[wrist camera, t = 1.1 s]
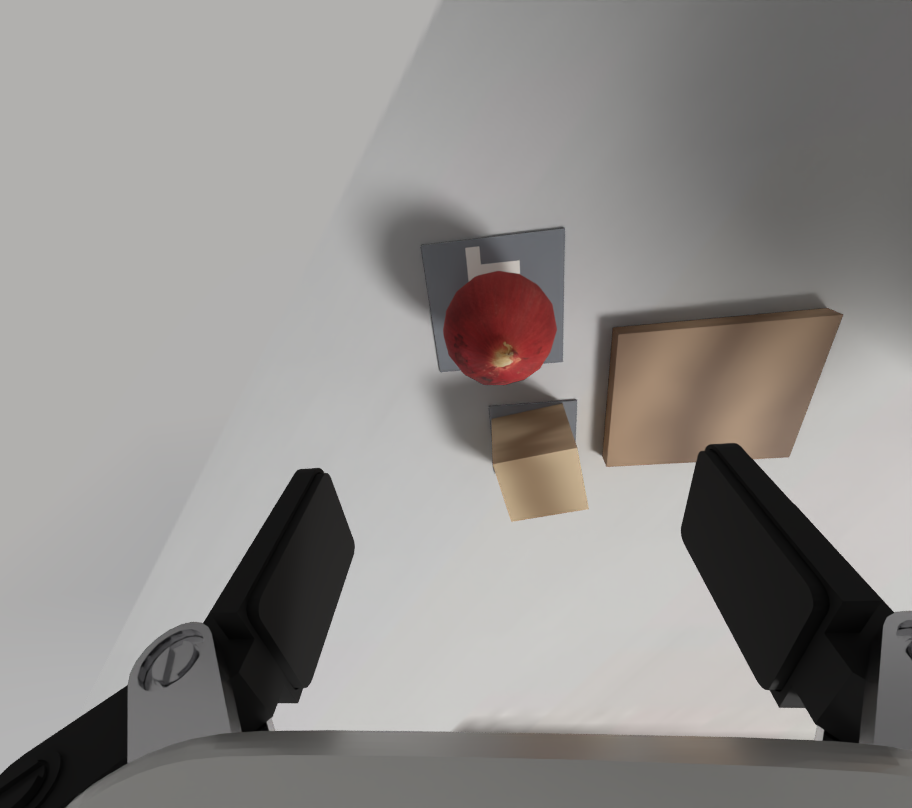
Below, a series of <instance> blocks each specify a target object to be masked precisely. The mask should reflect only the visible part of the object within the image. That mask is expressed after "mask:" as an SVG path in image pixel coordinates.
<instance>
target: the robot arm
mask: <svg viewBox="0 0 912 808" xmlns="http://www.w3.org/2000/svg"><path fill="white" fill-rule="evenodd" d="M681 536H682V540H683V542H684V544H685V546H686V548H687V550H688V552H689V554H690V556H691V558H692V560H693V561H694V563H695V565H696V567H697V569H698V571H699V573H700V575H701V577H702V578H703V580H704V582H705V584H706V586H707V588H708V590H709V592H710V593H711V595H712V597H713V599H714V601H715V603H716V605H717V607H718V609H719V610H720V612H721V614H722V616H723V618H724V620H725V622H726V624H727V626H728V627H729V629H730V631H731V633H732V635H733V637H734V639H735V641H736V642H737V644H738V646H739V648H740V650H741V652H742V654H743V656H744V658H745V659H746V661H747V663H748V665H749V667H750V669H751V671H752V673H753V674H754V676H755V678H756V680H757V682H758V683H759V684H760V686H761V687H762V688H764V689H765V690H770V692H771V693H772V695H773V697H774V699H775V701H776V703H777V704H778V706H779V708H806V709H807V711H808V713H809V714H810V716H811V718H812V719H813V721H814V723H815V724H816V725H817V728H816V734H815V739H814V740H791V739H766V738H741V737H698V736H653V735H607V734H552V733H492V732H423V731H336V730H323V731H275V728H274V725H273V721H272V717H273V714H274V712H275V709H276V706H277V704H278V703H298V702H299V699H300V696H301V693H302V690H303V688H307V687H308V686H309V685H310V683H311V681H312V678H313V675H314V672H315V669H316V666H317V663H318V660H319V657H320V654H321V651H322V648H323V645H324V642H325V639H326V636H327V633H328V630H329V627H330V624H331V621H332V618H333V615H334V612H335V609H336V606H337V603H338V600H339V597H340V594H341V591H342V588H343V585H344V582H345V579H346V576H347V573H348V570H349V567H350V564H351V561H352V558H353V555H354V549H355V545H354V540H353V537H352V534H351V531H350V529H349V526H348V523H347V521H346V518H345V515H344V512H343V510H342V507H341V504H340V502H339V499H338V496H337V493H336V491H335V488H334V485H333V482H332V480H331V477H330V475H329V474H328V473H324V472H323V470H322V469H321V468H312V469H299V470H297V471H296V472H295V474H294V476H293V477H292V479H291V480H290V482H289V484H288V485H287V487H286V489H285V490H284V492H283V494H282V495H281V497H280V498H279V500H278V502H277V503H276V505H275V507H274V508H273V510H272V512H271V513H270V515H269V516H268V518H267V520H266V521H265V523H264V525H263V526H262V528H261V529H260V531H259V533H258V534H257V536H256V538H255V539H254V541H253V543H252V544H251V546H250V547H249V549H248V551H247V552H246V554H245V556H244V557H243V559H242V561H241V562H240V564H239V565H238V567H237V569H236V570H235V572H234V574H233V575H232V577H231V579H230V580H229V582H228V583H227V585H226V587H225V588H224V590H223V592H222V593H221V595H220V597H219V598H218V600H217V601H216V603H215V605H214V606H213V608H212V610H211V611H210V613H209V615H208V616H207V618H206V619H205V621H204V623H199V622H190V623H185V624H181V625H179V626H177V627H175V628H173V629H170V630H168V631H167V632H166V633H164V634H163V635H161V636H160V637H158V638H157V639H156V640H155V641H154V642H153V643H152V644H150V645H149V646H148V647H147V648H146V649H145V650H144V652H143V653H142V654H141V656H140V657H139V658H138V660H137V661H136V663H135V665H134V667H133V669H132V671H131V673H130V676H129V681H128V685H127V686H126V687H124V688H123V689H121V690H120V691H118V692H117V693H115V694H114V695H112V696H111V697H109V698H108V699H106V700H105V701H103V702H102V703H100V704H99V705H97V706H96V707H94V708H93V709H91V710H90V711H88V712H87V713H85V714H84V715H82V716H81V717H79V718H78V719H76V720H75V721H73V722H72V723H70V724H69V725H67V726H66V727H65V728H63V729H62V730H60V731H58V732H57V733H55V734H54V735H52V736H51V737H50V738H48V739H47V740H45V741H44V742H42V743H41V744H39V745H38V746H36V747H35V748H33V749H32V750H30V751H29V752H27V753H26V754H24V755H23V756H22V757H20V759H18V760H16V761H15V762H14V763H13V764H11V765H10V766H9V767H8V768H7V769H6V770H5V771H4V772H3V773H2V774H1V775H0V808H912V611H901V612H895V613H894V612H893V611H892V610H891V609H890V608H889V606H888V605H887V604H886V603H885V602H884V601H883V600H882V599H881V598H880V597H879V596H878V595H877V593H876V592H875V591H874V590H873V589H872V588H871V587H870V586H869V585H868V584H867V583H866V581H865V580H864V579H863V578H862V577H861V576H860V575H859V574H858V573H857V572H856V571H855V569H854V568H853V567H852V566H851V565H850V564H849V563H848V562H847V561H846V560H845V559H844V557H843V556H842V555H841V554H840V553H839V552H838V551H837V550H836V549H835V548H834V547H833V546H832V544H831V543H830V542H829V541H828V540H827V539H826V538H825V537H824V536H823V535H822V534H821V532H820V531H819V530H818V529H817V528H816V527H815V526H814V525H813V524H812V523H811V522H810V520H809V519H808V518H807V517H806V516H805V515H804V514H803V513H802V512H801V511H800V510H799V508H798V507H797V506H796V505H795V504H794V503H792V502H791V501H790V499H789V498H788V497H787V496H786V495H785V494H784V493H783V492H782V491H781V490H780V489H779V487H778V486H777V485H776V484H775V483H774V482H773V481H772V480H771V479H770V478H769V477H768V475H767V474H766V473H765V472H764V471H763V470H762V469H761V468H760V467H759V466H758V465H757V463H756V462H755V461H754V460H753V459H752V458H751V457H750V456H749V455H748V454H747V453H746V451H745V450H744V449H743V448H742V447H741V446H740V445H739V444H737V443H724V444H710V445H708V446H707V447H706V448H705V451H700V452H699V454H698V457H697V461H696V465H695V470H694V474H693V478H692V483H691V487H690V491H689V496H688V500H687V504H686V509H685V513H684V517H683V522H682V526H681Z"/></svg>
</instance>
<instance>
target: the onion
mask: <svg viewBox="0 0 912 808" xmlns="http://www.w3.org/2000/svg"><path fill="white" fill-rule="evenodd" d="M556 332H557V326H556V321H555V315H554V310H553V304H552V303H551V301H550V300H549V299H548V297H547V296H546V295H545V293H544V292H543V291H542V289H541V288H540V287H539V286H538V285H537V284H536V283H534V282H532V281H531V280H529V279H527V278H526V277H524V276H522V275H520V274H517V273H510V272H504V271H495V272H491V273H487V274H482V275H478V276H476V277H474V278H473V279H471V280H470V281H469V282H468V283H467V284H465V285H464V286H463V287H462V288H460V289H459V290H458V291H457V292H456V294H455V295H454V297H453V299H452V301H451V303H450V305H449V306H448V308H447V310H446V315H445V321H444V327H443V334H444V339H445V343H446V347H447V350H448V354H449V356H450V357H451V359H452V360H453V361H454V362H455V364H456V365H457V366H458V367H459V369H460V370H461V371H462V372H463V373H464V374H465V375H466V376H468V377H470V378H472V379H474V380H476V381H478V382H480V383H482V384H484V385H507V384H510V383H513V382H517V381H521V380H524V379H526V378H527V377H529V376H530V375H531V374H533V373H534V372H536V371H537V370H538V369H540V367H541V366H542V364H543V363H544V361H545V360H546V358H547V357H548V355H549V354H550V352H551V349H552V345H553V342H554V338H555V335H556Z"/></svg>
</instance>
